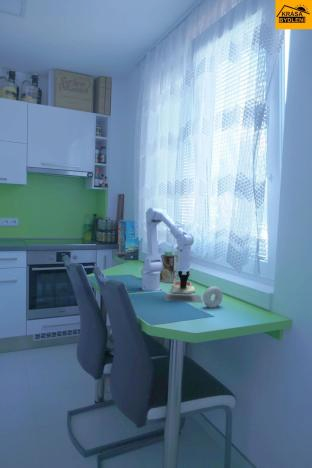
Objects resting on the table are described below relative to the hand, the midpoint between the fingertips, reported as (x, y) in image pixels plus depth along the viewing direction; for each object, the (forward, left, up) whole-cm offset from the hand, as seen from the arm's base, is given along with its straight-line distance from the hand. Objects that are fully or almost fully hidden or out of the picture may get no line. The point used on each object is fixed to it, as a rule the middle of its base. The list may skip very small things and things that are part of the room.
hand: (183, 286), depth 166 cm
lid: (0, 0, -2) cm, 2 cm away
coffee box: (-8, +39, -6) cm, 40 cm away
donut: (+13, -13, -6) cm, 20 cm away
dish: (0, +13, -6) cm, 14 cm away
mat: (0, 0, -6) cm, 6 cm away
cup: (-20, +43, -6) cm, 48 cm away
